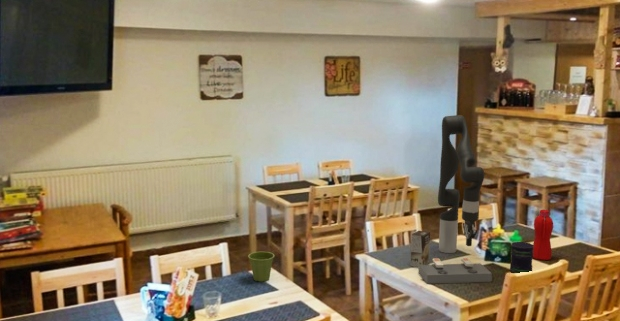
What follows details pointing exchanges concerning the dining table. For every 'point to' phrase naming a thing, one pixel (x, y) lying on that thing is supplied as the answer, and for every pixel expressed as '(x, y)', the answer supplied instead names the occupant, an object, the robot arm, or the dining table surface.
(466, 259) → the rocker on
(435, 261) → the rocker off
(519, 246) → the storage jar
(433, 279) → the switch panel
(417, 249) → the coffee box
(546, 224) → the water bottle
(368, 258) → the dining table surface
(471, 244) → the robot arm
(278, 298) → the dining table surface
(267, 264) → the plant pot
